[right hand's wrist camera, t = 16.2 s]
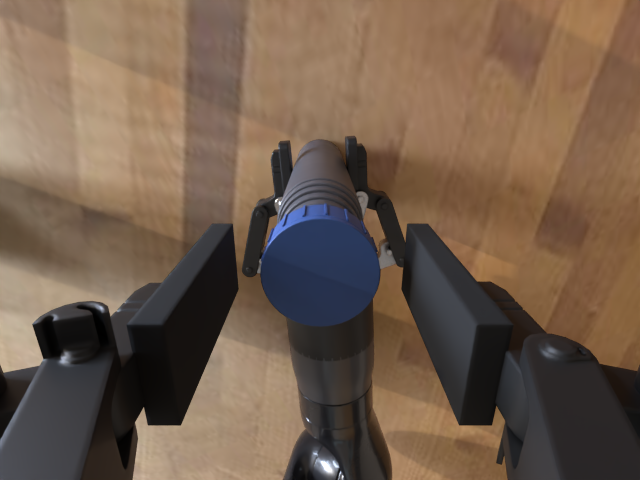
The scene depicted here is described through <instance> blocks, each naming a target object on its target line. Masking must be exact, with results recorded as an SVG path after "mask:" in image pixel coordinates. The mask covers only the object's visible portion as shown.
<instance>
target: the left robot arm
mask: <svg viewBox="0 0 640 480" xmlns="http://www.w3.org/2000/svg"><path fill="white" fill-rule="evenodd" d="M278 147H279V149H278V150H274V151H273V153H272V157H271V166H272V174H273V183H274V192H275V193H274V195H273V196H271V197H269V198H266V199H260V200H259V201H258V203H257V204H256V207H255V208H254V209H253V211H252V216H251V221H250V227H249V233H248V238H247V244H246V250H245V255H244V261H243V267H242V272H243V274H244V275H245V276H247V277H253V276H255V275H256V273H260V271H261V262H262V261H261V258H262V255H263V252H264V249H265V247H264V244H265V239H266V234H267V229H268V223H269V218H270V217H272V216H274V215H277V214H278V210H279V206H280V203H281V201H282V198H283V195H284V193H285V190H286V187H287V185H288V182H289V179H290V177H291V174H292V171H293V165H292V155H291V145H290V141H280V142H279V145H278ZM345 147H346V168H347V171H348V173H349V176H350V179H351V181H352V184H353V186H354V189H355V192H356V194H357V197H358V200H359V202H360V205H361V208H362V213H363V218H364V214H365V211H366V208H369V209H373V210H376V212H377V215H378V217H379V220H380V223H381V226H382V229H383V232H384V234H385V237H386V238H385V239H383V240H381V241H380V243H379V252H378V254H377V256H378V259H379V264H380V269H383V268H385V267H388V266H391V265H394V264H397V266H399V267H403V266H404V255H405V244H406V243H405V240H404V237H403V234H402V231H401V228H400V225H399V222H398V219H397V216H396V213H395V210H394V207H393V204H392V202H391V200H390V199H389V197H388V196H387V195H386V193H385V192H383V191H376V190H372V189H370V188H368V186H367V156H366V151H365V148H364V146H363V145H362V144H357V140H356V137H355V136H347V137H345ZM287 326H288V334H289V342H290V350H291V358H292V365H293V369H294V373H295V376H296V379H297V385H298V394H299V402H300V411H301V417H302V421H303V423H304V426H305V428H306V429H305V430H304V431H303V432H302V433H301V435H300V436H299V438H298V439H297V441H296V443H295V446H294V448H293V451H292V454H291V457H290V460H289V463H288V466H287V469H286V472H285V475H284V478H283V480H392V465H391V458H390V454H389V450H388V447H387V444H386V441H385V439H384V436H383V433H382V431H381V428H380V425H379V422H378V419H377V417H376V414H375V412H374V410H373V396H372V371H373V365H374V329H373V299H372V300H371V302H370V303H369V304H368V306H367V307H366V308H365V309H364V310H363V311H362V312H360V313H359V314H358V315H356V316H355V317H353V318H351V319H350V320H348V321H345V322H343V323H340V324H336V325H331V326H310V325H304V324H301V323H298V322H296V321H293V320H291V319H289V318H288V317H287Z"/></svg>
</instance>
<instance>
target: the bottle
mask: <svg viewBox="0 0 640 480" xmlns="http://www.w3.org/2000/svg"><path fill="white" fill-rule="evenodd" d="M325 203H327V205H330V206H335V207H338V208H341V209H344V210H345V209H347V211H348V212H349V213H351V214H352V215H354V216H355V217H356V218H358V219H359V220H360V221H363V213H362V208H361V205H360V202H359V200H358V197H357V194H356V192H355V189H354V186H353V184H352V181H351V179H350V176H349V173H348V171H347V168H346V165H345V163H344V160H343V157H342V155H341V152H340V150H339V149H338V148H337V147H336V146H335V145H334V144H333V143H331V142H329V141H326V140H314V141H311V142H309V143H307V144H306V145H305V146H304V147H303V148H302V149H301V151H300V153H299V155H298V158H297V160H296V163H295V166H294V168H293V171H292V174H291V177H290V179H289V182H288V185H287V187H286V190H285V193H284V195H283V198H282V201H281V203H280V206H279V210H278V219H277V224H278V223H279V222H280V221H281V220H282V219H283V218H284V216H285V214H287V215H288V214H290V213H291V212H293V211H295V210H297V209H299V208H302V207H303V206H304V205H306V206H310V205H325Z"/></svg>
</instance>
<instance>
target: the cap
mask: <svg viewBox="0 0 640 480" xmlns="http://www.w3.org/2000/svg"><path fill="white" fill-rule="evenodd" d="M267 242H268V244H267V246H266V247H265V249H264V252H263V255H262V258H261V261H262V262H261V271H260V275H261V282H262V286H263V289H264V292H265V294H266V296H267V298H268V299H269V301H270V302H271V303H272V305H273V306H274V307H275V308H276V309H277V310H278V311H279V312H280V313H282V314H283V315H284V316H286V317H288V318H289V319H291V320H293V321H296V322H298V323H301V324H304V325H310V326H331V325H336V324H340V323H343V322H345V321H348V320H350V319H351V318H353V317H355V316H356V315H358V314H359V313H360V312H362V311H363V310H364V309H365V308H366V307H367V306H368V304H369V303H370V302H371V300H372V299H373V297H374V295H375V293H376V291H377V288H378V285H379V281H380V264H379V259H378V256H377V253H376V252H378V251H377V248H376V245H375V242H374V240H373V237H370V234H369V232H368V231H367V229H366V227H365V225H364V223H363V221H360V220H359V219H358V218H356V217H355V216H354V215H352V214H351V213H349V212H348V211H347V209H345V210H344V209H341V208H338V207H335V206H330V205H327V203H325V205H310V206H306V205H304V206H303V207H302V208H299V209H297V210H295V211H293V212H291V213H290V214H288V215H287V214H285V216H284V218H283V219H282V220H281V221H280V222H279V223H278V224H277V226H276V227H275V228H274V229H273V228H272V230H271V233H270V236H269V239H268V241H267Z"/></svg>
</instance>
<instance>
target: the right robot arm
mask: <svg viewBox="0 0 640 480" xmlns="http://www.w3.org/2000/svg"><path fill="white" fill-rule="evenodd" d="M237 292H238V278H237V266H236V255H235V244H234V232H233V224H212V225H211V226H210V227H209V228H208V229H207V231H206V232H205V233H204V234H203V235H202V236H201V238H200V239H199V240H198V241H197V242H196V243H195V245H194V246H193V247H192V248H191V249H190V251H189V252H188V253H187V254H186V255H185V256H184V258H183V259H182V260H181V261H180V262H179V263H178V265H177V266H176V267H175V268H174V269H173V271H172V272H171V273H170V274H169V275H168V276H167V278H166V279H165V280H164V281H163V282H162V283H149V284H147V285H145V286H144V287H142V288H140V289H138V290H136V291H135V292H134V293H133V294H132V295H131V296H130V297H129V298H128V299H127V300H126V303H123V304H122V305H121V307H120V308H119V309H118V312H115V313H114V314H113V315H112V316H111V317H110V313H109V309H108V306H106V305H105V304H103V303H101V302H94V301H87V302H77V303H73V304H68V305H64V306H62V307H59V308H56V309H53V310H51V311H49V312H47V313H46V314H44V315H42V316H40V317H39V318H38V319H37V320H36V321H35V322H34V323H33V324H32V325H33V328H34V331H35V334H36V337H37V340H38V343H39V346H40V350H41V353H42V356H43V361H42V363H41V365H40V366H36V367H31V368H26V369H21V370H16V371H11V372H6V373H3V371H2V368H1V366H0V480H132V479H133V472H134V464H135V457H136V449H137V442H138V436H137V430H136V425H135V421H136V420H137V418H138V416H139V414H140V413H141V411H142V409H143V407H144V409H145V414H146V418H147V423H148V425H181V424H182V421H183V419H184V417H185V414H186V412H187V409H188V407H189V405H190V402H191V400H192V398H193V395H194V393H195V391H196V388H197V386H198V384H199V381H200V379H201V376H202V374H203V372H204V369H205V367H206V365H207V362H208V360H209V358H210V355H211V353H212V351H213V348H214V346H215V343H216V341H217V339H218V336H219V334H220V332H221V329H222V327H223V325H224V322H225V320H226V318H227V315H228V313H229V310H230V308H231V306H232V303H233V301H234V299H235V296H236V294H237ZM402 292H403V294H404V296H405V299H406V301H407V303H408V306H409V308H410V310H411V313H412V315H413V318H414V320H415V322H416V325H417V327H418V329H419V332H420V334H421V336H422V339H423V341H424V343H425V346H426V348H427V351H428V353H429V355H430V358H431V360H432V362H433V365H434V367H435V369H436V372H437V374H438V376H439V379H440V381H441V384H442V386H443V388H444V391H445V393H446V395H447V398H448V400H449V402H450V405H451V407H452V409H453V412H454V414H455V417H456V419H457V421H458V424H459V425H492V423H493V418H494V414H495V409H496V405H497V407H498V409H499V411H500V412H501V414H502V416H503V418H504V419H505V425H504V430H503V434H502V438H501V442H500V447H499V451H498V455H497V462H496V463H497V464H501V465H502V461H503V457H504V456H505V463H506V471H507V478H508V480H640V366H639V368H638V371H633V370H628V369H623V368H618V367H613V366H607V365H603V364H599V362H598V360H597V358H596V357H595V356H594V355H593V354H592V353H591V351H590V350H588V349H587V348H585V347H584V346H582V345H581V344H579V343H577V342H575V341H573V340H570V339H568V338H566V337H562V336H558V335H554V334H547V333H546V332H545V331H544V330H543V329H542V328H541V327H540V326H539V325H538V324H537V323H536V322H535V320H534V319H533V318H532V317H531V316H530V315H529V314H528V313H527V312H526V311H525V310H523V308H522V307H521V306H520V305H519V304H518V303H517V302H515V300H514V299H513V298H512V297H511V295H510V294H509V293H508V292H507V291H506V290H504V289H502V288H501V287H499V286H497V285H495V284H494V283H492V282H477V281H476V280H475V279H474V278H473V276H472V275H471V274H470V273H469V272H468V271H467V269H466V268H465V267H464V266H463V265H462V263H461V262H460V261H459V260H458V259H457V258H456V256H455V255H454V254H453V253H452V252H451V251H450V249H449V248H448V247H447V246H446V245H445V243H444V242H443V241H442V240H441V239H440V238H439V236H438V235H437V234H436V233H435V232H434V231H433V229H432V228H431V227H430V226H429V225H428V224H407V232H406V244H405V255H404V266H403V278H402Z"/></svg>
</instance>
